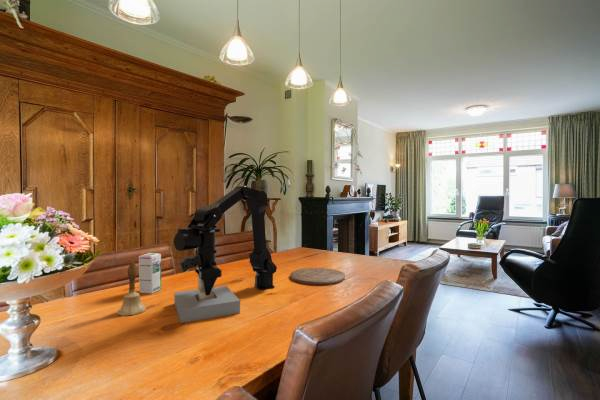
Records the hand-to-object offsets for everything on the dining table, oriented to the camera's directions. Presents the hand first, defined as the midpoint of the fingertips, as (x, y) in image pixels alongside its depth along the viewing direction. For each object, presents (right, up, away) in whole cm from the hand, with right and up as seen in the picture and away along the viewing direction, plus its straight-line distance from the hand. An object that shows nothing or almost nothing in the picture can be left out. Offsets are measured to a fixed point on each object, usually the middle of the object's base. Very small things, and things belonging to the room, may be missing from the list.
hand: (206, 293), depth 105 cm
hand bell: (-23, -5, -3) cm, 24 cm away
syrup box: (-27, -5, +18) cm, 33 cm away
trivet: (+39, -5, +39) cm, 56 cm away
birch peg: (0, -3, 0) cm, 3 cm away
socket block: (0, -5, 0) cm, 5 cm away
